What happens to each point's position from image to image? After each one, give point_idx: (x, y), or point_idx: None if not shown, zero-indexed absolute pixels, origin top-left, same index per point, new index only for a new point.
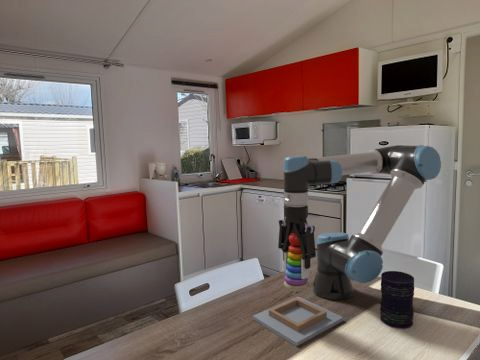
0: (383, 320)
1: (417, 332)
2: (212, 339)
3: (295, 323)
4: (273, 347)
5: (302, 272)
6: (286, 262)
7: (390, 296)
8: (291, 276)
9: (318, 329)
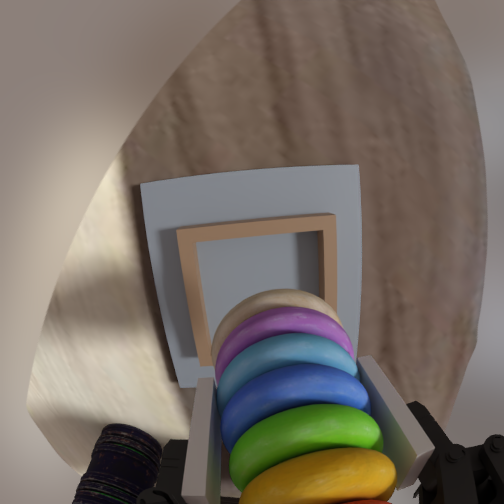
0: (133, 431)
1: (86, 431)
2: (320, 17)
3: (196, 234)
4: (180, 121)
5: (199, 407)
6: (382, 404)
7: (97, 474)
8: (264, 342)
9: (160, 291)
